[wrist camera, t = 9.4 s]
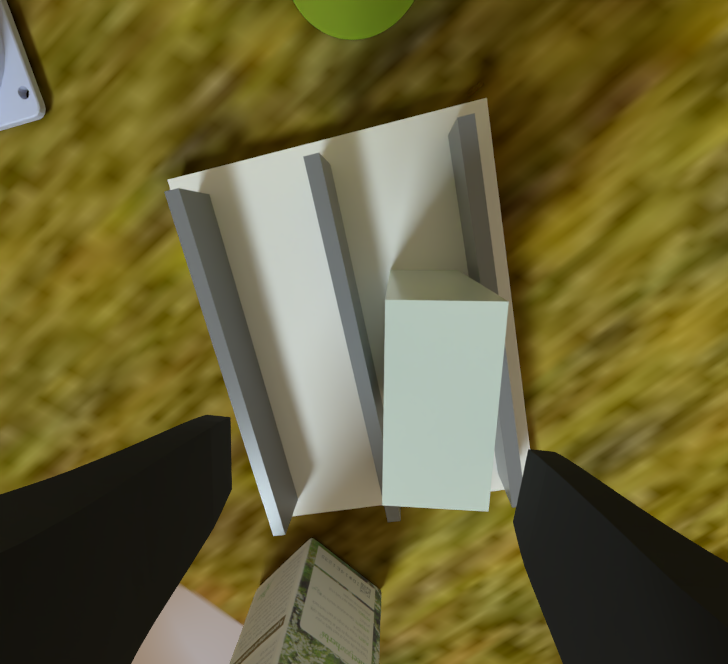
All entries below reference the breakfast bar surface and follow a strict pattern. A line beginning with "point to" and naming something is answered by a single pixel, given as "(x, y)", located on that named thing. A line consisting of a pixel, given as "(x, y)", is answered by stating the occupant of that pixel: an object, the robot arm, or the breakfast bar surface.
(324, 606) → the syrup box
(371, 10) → the soap dispenser
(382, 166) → the dish rack
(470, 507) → the white rectangular block
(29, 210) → the breakfast bar surface
